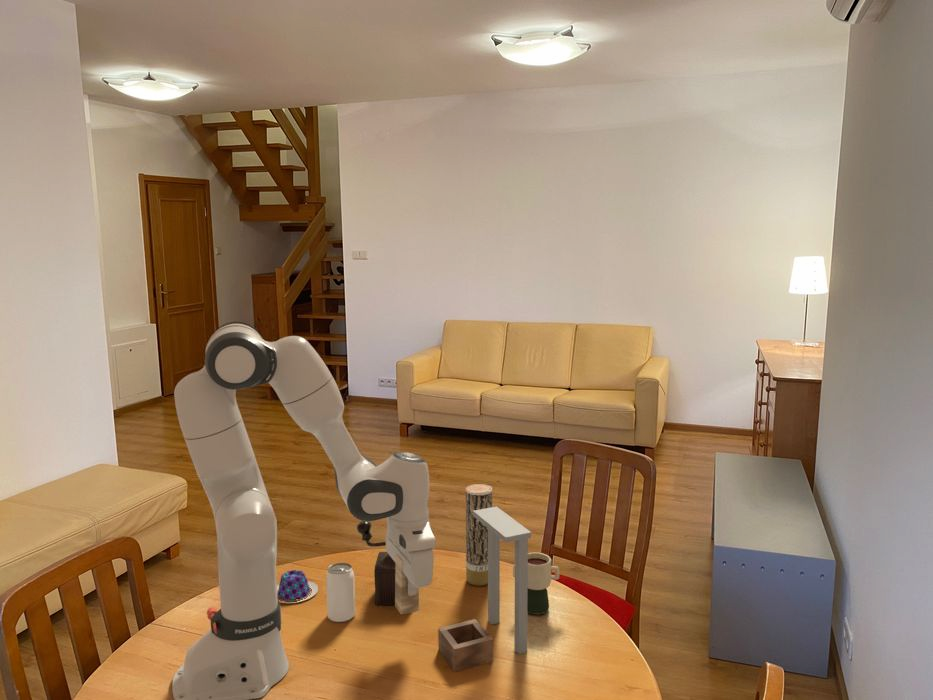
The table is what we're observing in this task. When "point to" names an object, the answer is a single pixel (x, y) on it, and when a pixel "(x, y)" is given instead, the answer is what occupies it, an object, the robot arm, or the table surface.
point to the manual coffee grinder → (381, 569)
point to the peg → (404, 592)
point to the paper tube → (477, 534)
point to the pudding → (295, 586)
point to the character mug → (539, 582)
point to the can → (340, 592)
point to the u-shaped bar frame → (508, 532)
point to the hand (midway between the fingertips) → (406, 588)
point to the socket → (465, 645)
